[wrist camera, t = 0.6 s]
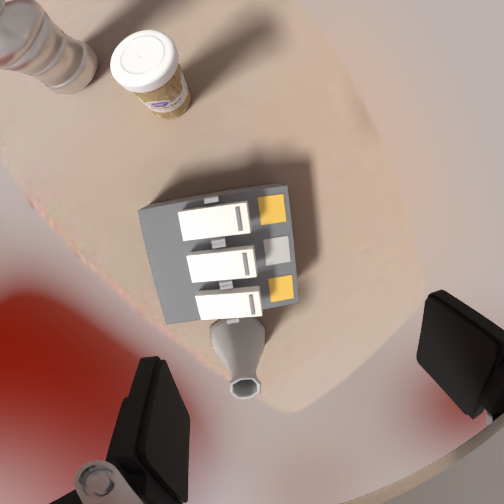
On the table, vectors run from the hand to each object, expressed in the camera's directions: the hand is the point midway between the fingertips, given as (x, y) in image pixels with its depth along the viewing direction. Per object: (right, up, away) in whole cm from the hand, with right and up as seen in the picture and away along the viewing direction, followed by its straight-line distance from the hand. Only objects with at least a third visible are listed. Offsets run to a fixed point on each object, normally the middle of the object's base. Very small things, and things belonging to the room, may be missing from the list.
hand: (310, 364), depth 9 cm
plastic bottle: (-22, +25, +15) cm, 37 cm away
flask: (-4, -7, +27) cm, 28 cm away
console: (-5, +4, +23) cm, 24 cm away
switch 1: (-5, +6, +16) cm, 18 cm away
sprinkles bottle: (-11, +20, +18) cm, 29 cm away
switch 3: (-4, -1, +18) cm, 19 cm away
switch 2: (-5, +3, +17) cm, 18 cm away
